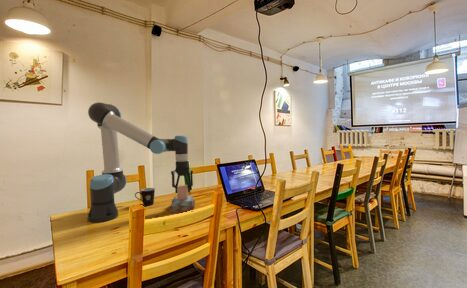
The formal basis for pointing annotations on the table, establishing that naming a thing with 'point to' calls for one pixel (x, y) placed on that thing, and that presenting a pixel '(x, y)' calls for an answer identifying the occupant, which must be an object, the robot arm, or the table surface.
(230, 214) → the table surface
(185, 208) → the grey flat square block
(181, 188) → the top brick
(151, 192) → the coffee mug
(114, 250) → the table surface
